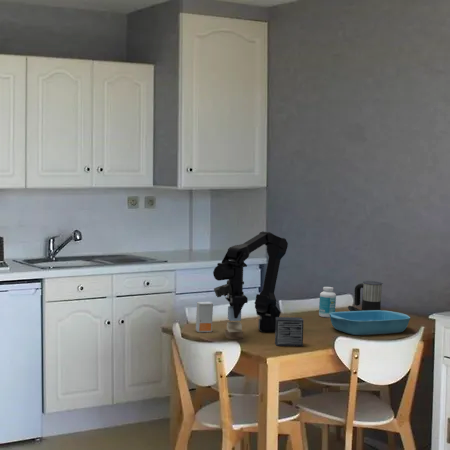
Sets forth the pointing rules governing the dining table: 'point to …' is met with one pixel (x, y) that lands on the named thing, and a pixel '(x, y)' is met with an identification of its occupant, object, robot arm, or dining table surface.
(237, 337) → the tower base
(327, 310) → the pill bottle
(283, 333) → the small box
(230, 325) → the tower mid
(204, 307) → the skincare box
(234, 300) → the robot arm
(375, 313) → the casserole dish
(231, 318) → the blue cube
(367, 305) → the milk frother
